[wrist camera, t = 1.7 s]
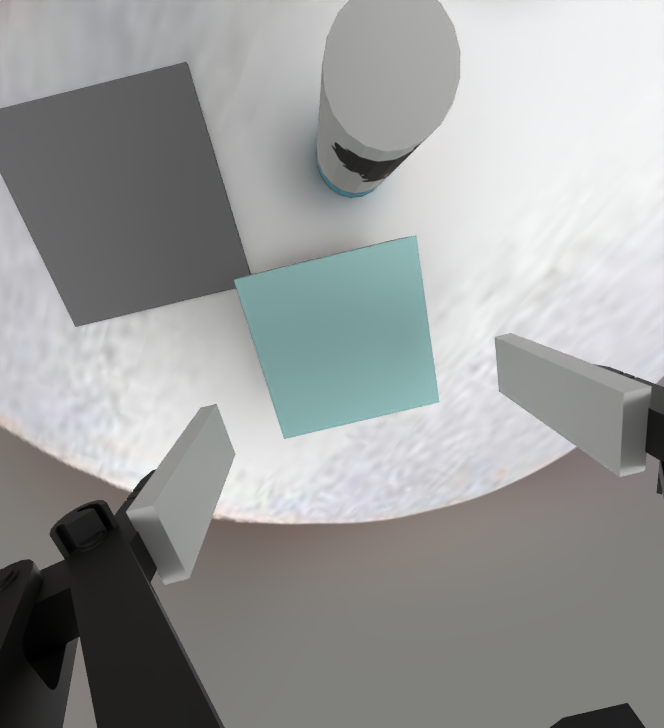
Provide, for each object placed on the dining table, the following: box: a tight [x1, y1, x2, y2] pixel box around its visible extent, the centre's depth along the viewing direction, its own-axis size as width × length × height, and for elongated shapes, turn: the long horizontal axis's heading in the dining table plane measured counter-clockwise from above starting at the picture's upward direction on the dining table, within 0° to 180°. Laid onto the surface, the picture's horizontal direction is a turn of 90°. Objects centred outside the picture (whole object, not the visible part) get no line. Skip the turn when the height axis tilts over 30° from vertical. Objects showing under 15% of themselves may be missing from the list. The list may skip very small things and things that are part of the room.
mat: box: [0, 62, 251, 327], centre depth 30 cm, size 18×18×1 cm
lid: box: [234, 236, 439, 439], centre depth 26 cm, size 12×12×5 cm
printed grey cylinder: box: [316, 0, 460, 197], centre depth 23 cm, size 7×7×15 cm
